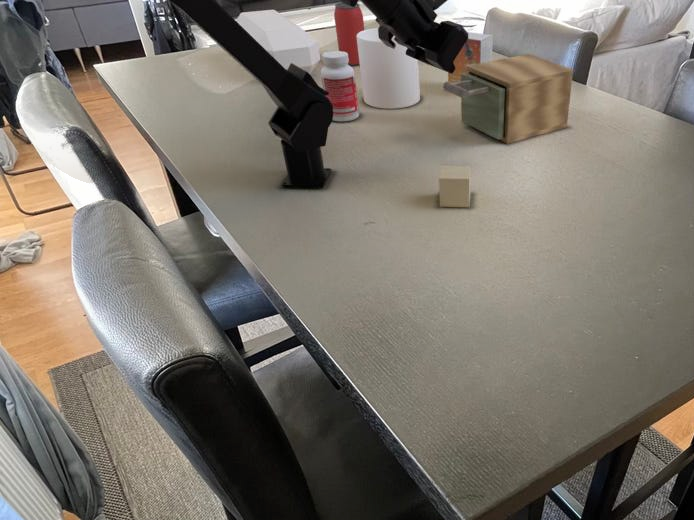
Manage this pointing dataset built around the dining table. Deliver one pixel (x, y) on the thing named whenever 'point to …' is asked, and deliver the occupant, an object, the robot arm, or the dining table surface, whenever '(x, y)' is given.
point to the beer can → (348, 30)
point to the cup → (387, 72)
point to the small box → (472, 54)
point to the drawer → (481, 103)
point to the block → (454, 186)
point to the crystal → (281, 38)
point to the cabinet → (530, 94)
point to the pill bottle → (340, 85)
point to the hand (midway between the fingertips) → (452, 70)
